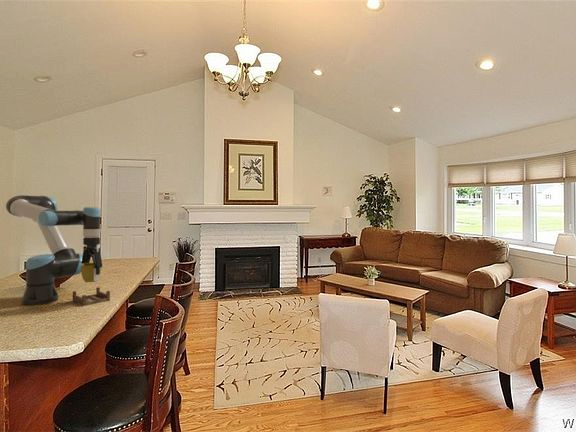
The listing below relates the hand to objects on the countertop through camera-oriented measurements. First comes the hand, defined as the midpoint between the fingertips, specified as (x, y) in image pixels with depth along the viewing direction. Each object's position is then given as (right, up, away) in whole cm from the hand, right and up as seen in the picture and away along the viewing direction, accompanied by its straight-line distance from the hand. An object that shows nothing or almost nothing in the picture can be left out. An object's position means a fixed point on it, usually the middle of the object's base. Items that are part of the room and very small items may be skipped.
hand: (91, 279), depth 178 cm
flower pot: (0, -1, 0) cm, 1 cm away
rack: (0, -11, 0) cm, 11 cm away
